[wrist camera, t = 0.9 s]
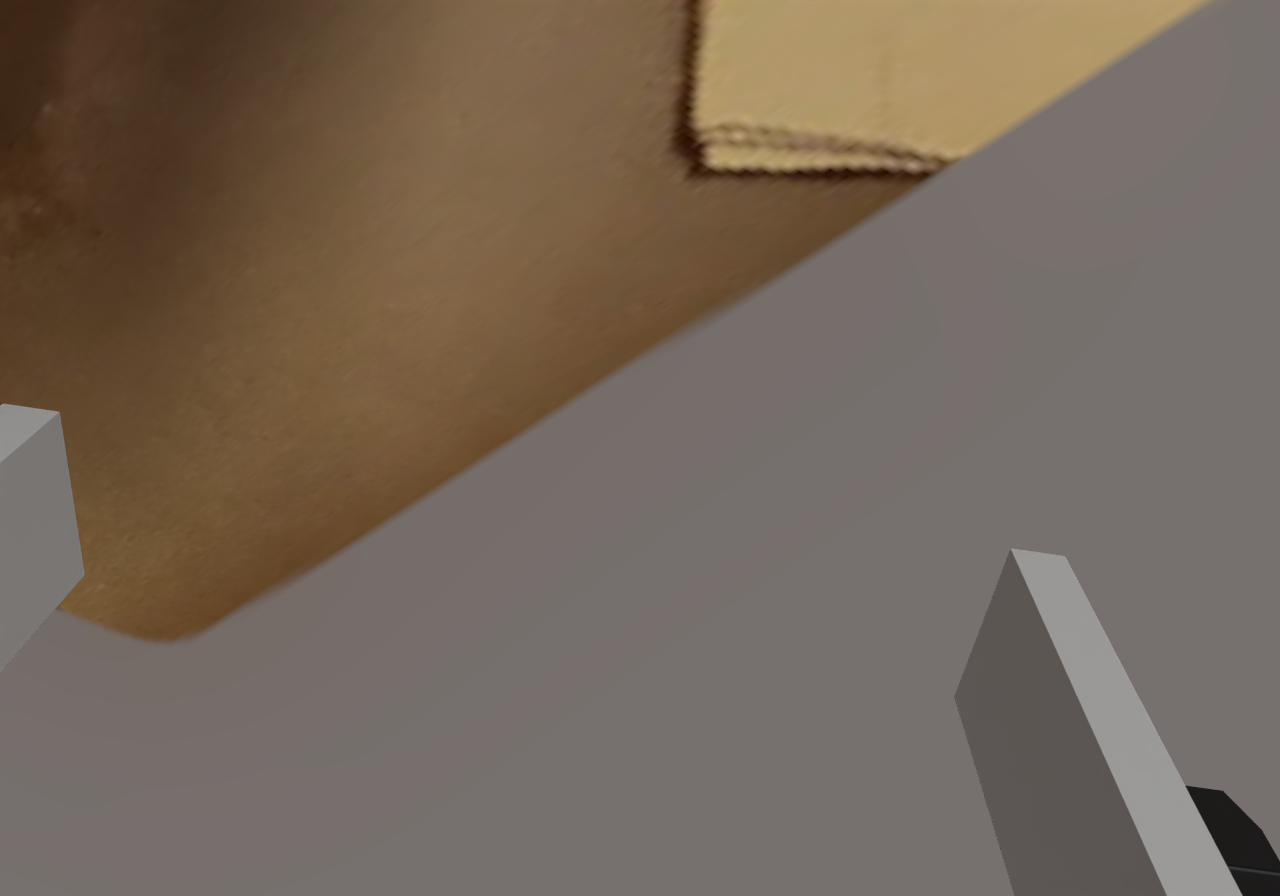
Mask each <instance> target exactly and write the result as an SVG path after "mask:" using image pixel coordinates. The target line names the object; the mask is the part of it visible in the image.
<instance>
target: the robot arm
mask: <svg viewBox="0 0 1280 896" xmlns="http://www.w3.org/2000/svg"><path fill="white" fill-rule="evenodd" d="M84 575H85V572H84V566H83V559H82V553H81V546H80V540H79V533H78V527H77V520H76V514H75V507H74V501H73V494H72V488H71V482H70V475H69V469H68V462H67V456H66V449H65V443H64V436H63V430H62V423H61V417H60V412H58V411H51V410H44V409H37V408H30V407H23V406H17V405H10V404H2V405H0V673H1V672H2V670H3V669H4V668H5V667H6V666H7V665H8V663H9V662H10V661H11V660H12V659H13V658H14V656H15V655H16V654H17V653H18V652H19V651H20V650H21V648H22V647H23V646H24V645H25V644H26V642H27V641H28V640H29V639H30V638H31V637H32V636H33V634H34V633H35V632H36V631H37V630H38V629H39V628H40V626H41V625H42V624H43V623H44V621H46V619H47V618H48V617H49V616H50V615H51V614H52V612H53V611H54V610H55V609H56V608H57V607H58V605H59V604H60V603H61V602H62V601H63V600H64V599H65V597H66V596H67V595H68V594H69V593H70V592H71V590H72V589H73V588H74V587H75V586H76V585H77V583H78V582H79V581H80V580H81V579H82V578H83V576H84ZM954 697H955V701H956V704H957V708H958V711H959V714H960V718H961V721H962V724H963V727H964V730H965V734H966V737H967V741H968V744H969V747H970V750H971V754H972V757H973V760H974V764H975V767H976V770H977V773H978V777H979V780H980V783H981V786H982V790H983V793H984V797H985V800H986V803H987V807H988V810H989V813H990V817H991V820H992V823H993V826H994V830H995V833H996V836H997V840H998V843H999V846H1000V850H1001V852H1002V856H1003V859H1004V863H1005V866H1006V869H1007V873H1008V876H1009V879H1010V882H1011V886H1012V889H1013V892H1014V895H1015V896H1280V861H1279V859H1278V858H1277V856H1276V854H1275V852H1274V850H1273V849H1272V847H1271V845H1270V844H1269V842H1268V840H1267V838H1266V837H1265V835H1264V833H1263V831H1262V830H1261V829H1260V828H1259V827H1258V826H1257V825H1256V824H1255V823H1254V822H1253V821H1252V820H1251V819H1250V818H1249V817H1248V816H1247V815H1246V814H1245V813H1244V812H1243V811H1242V810H1241V809H1240V808H1239V807H1238V806H1237V805H1236V804H1235V803H1234V802H1233V801H1232V800H1231V799H1230V798H1229V797H1228V796H1227V795H1226V794H1225V793H1224V792H1223V791H1220V790H1212V789H1206V788H1205V789H1204V788H1198V787H1191V786H1185V785H1184V783H1183V781H1182V779H1181V777H1180V775H1179V773H1178V772H1177V769H1176V768H1175V766H1174V764H1173V762H1172V760H1171V758H1170V756H1169V754H1168V752H1167V750H1166V748H1165V747H1164V745H1163V743H1162V741H1161V739H1160V737H1159V735H1158V733H1157V731H1156V729H1155V728H1154V726H1153V724H1152V722H1151V720H1150V718H1149V716H1148V714H1147V712H1146V710H1145V708H1144V706H1143V705H1142V703H1141V701H1140V699H1139V697H1138V695H1137V693H1136V691H1135V689H1134V687H1133V685H1132V684H1131V682H1130V680H1129V678H1128V676H1127V674H1126V672H1125V670H1124V668H1123V666H1122V665H1121V663H1120V661H1119V659H1118V657H1117V655H1116V653H1115V651H1114V649H1113V647H1112V645H1111V643H1110V641H1109V640H1108V638H1107V636H1106V634H1105V632H1104V630H1103V628H1102V627H1101V624H1100V622H1099V621H1098V619H1097V617H1096V615H1095V613H1094V611H1093V609H1092V607H1091V605H1090V603H1089V601H1088V599H1087V598H1086V596H1085V594H1084V592H1083V590H1082V588H1081V586H1080V584H1079V582H1078V580H1077V578H1076V576H1075V575H1074V573H1073V571H1072V569H1071V567H1070V565H1069V563H1068V561H1067V559H1066V557H1065V556H1059V555H1053V554H1045V553H1039V552H1032V551H1025V550H1017V549H1010V552H1009V555H1008V557H1007V559H1006V562H1005V565H1004V567H1003V570H1002V573H1001V575H1000V578H999V581H998V583H997V586H996V588H995V591H994V594H993V596H992V599H991V602H990V604H989V607H988V609H987V612H986V615H985V618H984V620H983V623H982V625H981V628H980V630H979V633H978V636H977V639H976V641H975V644H974V646H973V649H972V651H971V654H970V657H969V659H968V662H967V665H966V668H965V670H964V673H963V675H962V678H961V680H960V683H959V686H958V688H957V691H956V694H955V696H954Z"/></svg>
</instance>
